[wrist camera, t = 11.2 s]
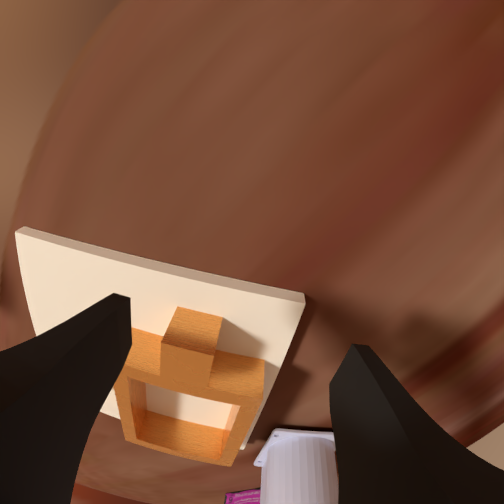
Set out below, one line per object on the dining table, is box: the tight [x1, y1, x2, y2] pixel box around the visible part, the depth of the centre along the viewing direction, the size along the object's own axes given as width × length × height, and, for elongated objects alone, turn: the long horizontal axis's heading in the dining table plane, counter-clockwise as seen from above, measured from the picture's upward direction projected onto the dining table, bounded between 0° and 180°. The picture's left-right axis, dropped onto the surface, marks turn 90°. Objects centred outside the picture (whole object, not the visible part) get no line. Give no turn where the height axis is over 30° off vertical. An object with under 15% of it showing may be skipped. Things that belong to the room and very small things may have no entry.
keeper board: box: [15, 226, 306, 450], centre depth 19 cm, size 20×22×7 cm
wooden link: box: [114, 306, 265, 467], centre depth 20 cm, size 15×10×4 cm, turn 167°
